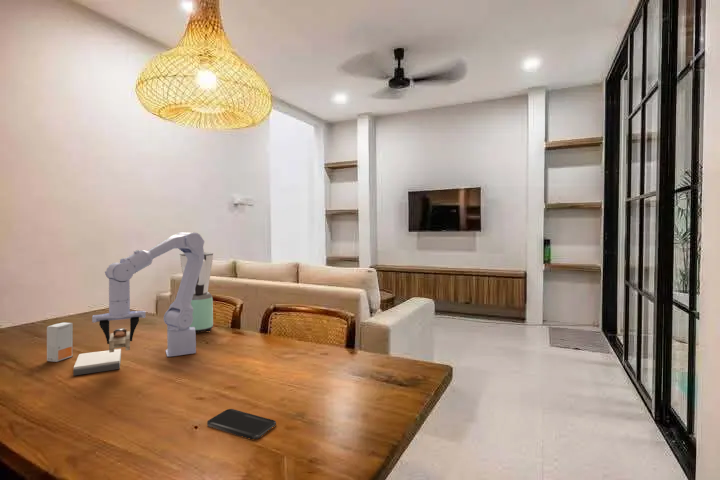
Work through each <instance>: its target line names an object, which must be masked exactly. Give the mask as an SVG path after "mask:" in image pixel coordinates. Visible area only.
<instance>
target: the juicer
mask: <svg viewBox="0 0 720 480" xmlns="http://www.w3.org/2000/svg"><path fill="white" fill-rule="evenodd" d="M179 256H180V265H181V266H180V267H181V272H182V274H183V273H184V270H185V267H186V263H187V260H188V259H187V257H186V256H185V254H184V253H183V252H182V253H179ZM213 259H214V253H212V252H204V261H203V264H202V267H201V271H200V274H199V277H198V281H197V284H196V288H195V291H194V294H193V298H192V301H191V305H192V308H193V314H192V316H193V322H192V324H191V325H190V327H195V332H196V333H204V332H206V331H212V328H213V327H214V304H213V303H214V299H213V295H212V294H211V293H210V292H209V285H210V280H211V279H210V278H211V274H212V266H213Z"/></svg>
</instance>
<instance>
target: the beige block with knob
mask: <svg viewBox="0 0 720 480" xmlns="http://www.w3.org/2000/svg"><path fill="white" fill-rule="evenodd" d="M121 348H125V351H130V350H131V341H130V330H129V331H127V336H125V337H120V338H114V337H113V332H112V333H110V339H109V344H108V350H109V353H110V352H114V350H115V349H121Z"/></svg>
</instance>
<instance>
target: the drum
mask: <svg viewBox="0 0 720 480" xmlns="http://www.w3.org/2000/svg"><path fill="white" fill-rule="evenodd" d="M112 331H113V332H112V333H113V337H114V338H120V337H125V336H127V332H128V331H127V328H125V327H124V328H123V327H122V328H116V329H114V330H112Z"/></svg>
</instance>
